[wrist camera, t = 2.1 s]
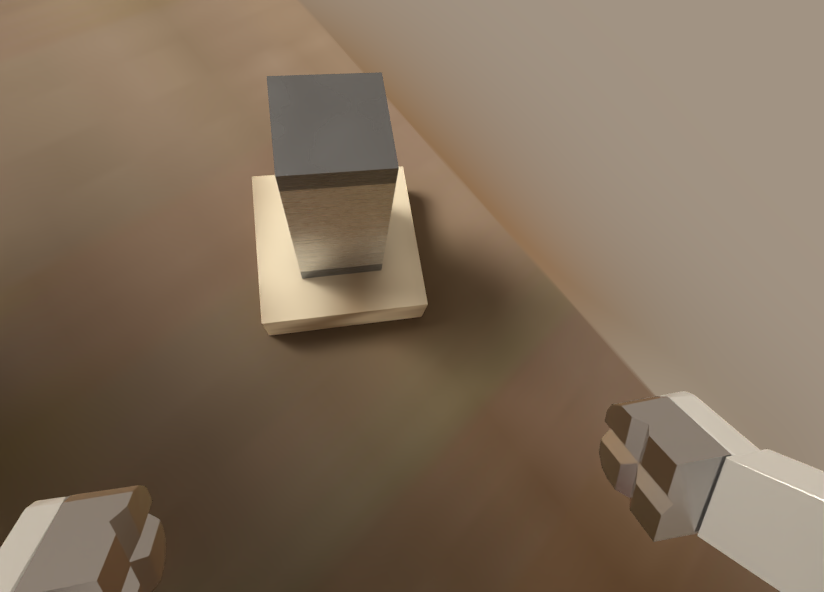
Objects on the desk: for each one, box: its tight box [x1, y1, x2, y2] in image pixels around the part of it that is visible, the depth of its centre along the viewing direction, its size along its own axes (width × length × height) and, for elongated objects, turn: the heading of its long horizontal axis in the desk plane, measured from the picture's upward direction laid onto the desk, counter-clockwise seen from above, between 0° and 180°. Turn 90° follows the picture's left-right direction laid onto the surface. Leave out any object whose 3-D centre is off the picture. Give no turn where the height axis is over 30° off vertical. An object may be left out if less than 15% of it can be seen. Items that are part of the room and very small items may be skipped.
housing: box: [267, 73, 399, 279], centre depth 22 cm, size 4×4×10 cm
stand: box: [252, 167, 428, 335], centre depth 28 cm, size 9×9×2 cm
